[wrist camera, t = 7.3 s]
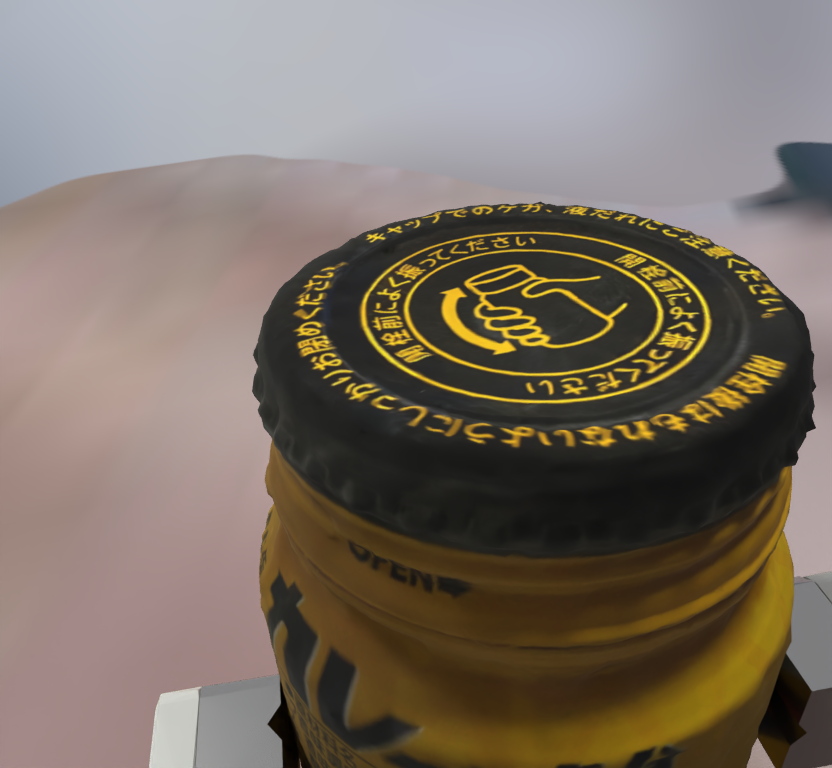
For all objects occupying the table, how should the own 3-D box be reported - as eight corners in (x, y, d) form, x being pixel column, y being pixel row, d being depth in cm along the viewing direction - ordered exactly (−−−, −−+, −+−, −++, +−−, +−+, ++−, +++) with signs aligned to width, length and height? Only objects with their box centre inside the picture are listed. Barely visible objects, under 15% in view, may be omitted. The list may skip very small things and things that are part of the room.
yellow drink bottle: (726, 778, 15) (914, 200, 9) (654, 1441, 9) (1147, 1233, 2) (393, 663, 18) (335, 149, 11) (157, 1117, 12) (-303, 568, 5)
